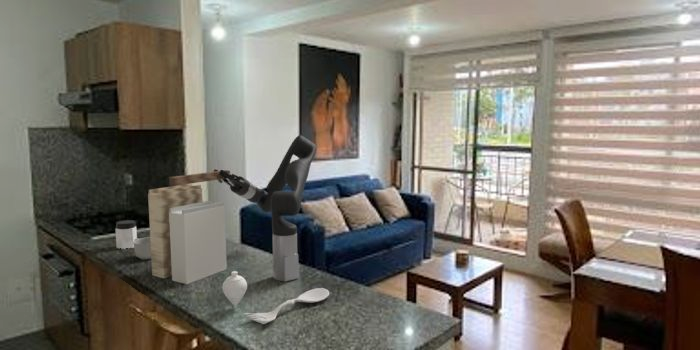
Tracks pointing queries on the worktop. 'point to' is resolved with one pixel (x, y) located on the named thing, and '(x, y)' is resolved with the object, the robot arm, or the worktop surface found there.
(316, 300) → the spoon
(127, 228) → the jar
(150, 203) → the tall stand
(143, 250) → the teacup
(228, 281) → the spinning top
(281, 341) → the worktop surface
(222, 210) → the white upright box
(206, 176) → the walnut bar
